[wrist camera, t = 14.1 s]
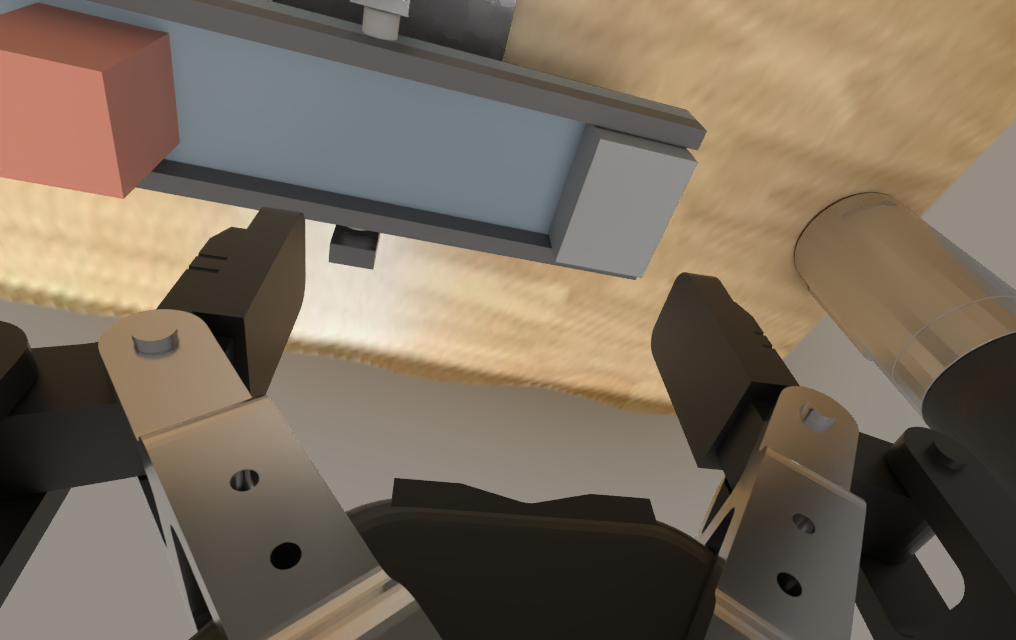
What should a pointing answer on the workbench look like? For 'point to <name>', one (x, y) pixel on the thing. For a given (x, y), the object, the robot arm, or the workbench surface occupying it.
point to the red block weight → (83, 100)
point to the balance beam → (409, 135)
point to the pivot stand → (431, 18)
